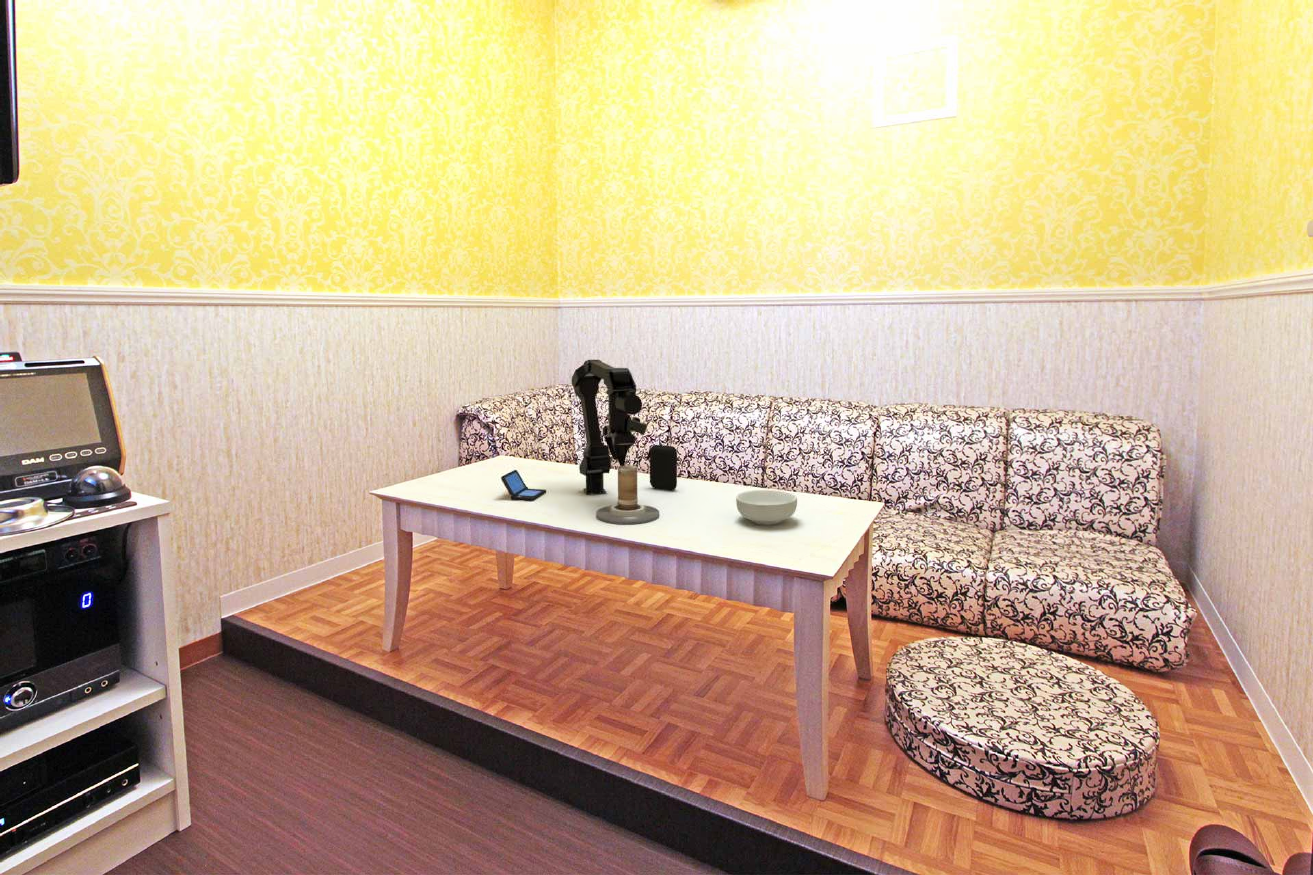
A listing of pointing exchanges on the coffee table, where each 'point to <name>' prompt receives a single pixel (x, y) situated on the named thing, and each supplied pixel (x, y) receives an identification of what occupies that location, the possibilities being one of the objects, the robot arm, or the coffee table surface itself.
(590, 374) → the robot arm
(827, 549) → the coffee table surface
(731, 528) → the coffee table surface
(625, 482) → the brown cylindrical container
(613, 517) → the round tray
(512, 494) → the handheld game console
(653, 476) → the black rounded block
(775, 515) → the cereal bowl
